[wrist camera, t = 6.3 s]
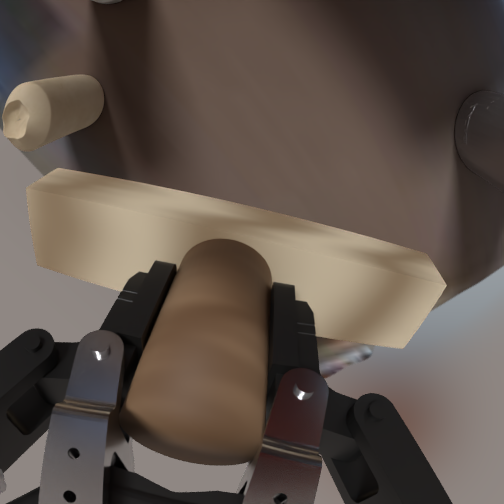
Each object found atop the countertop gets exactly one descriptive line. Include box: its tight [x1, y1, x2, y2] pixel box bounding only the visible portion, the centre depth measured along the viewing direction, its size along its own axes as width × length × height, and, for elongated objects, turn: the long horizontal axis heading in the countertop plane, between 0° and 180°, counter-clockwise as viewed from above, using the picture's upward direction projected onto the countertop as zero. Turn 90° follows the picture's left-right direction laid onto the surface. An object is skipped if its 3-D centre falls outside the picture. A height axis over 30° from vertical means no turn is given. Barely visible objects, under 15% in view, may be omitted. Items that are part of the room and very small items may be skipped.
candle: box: [2, 75, 104, 152], centre depth 20 cm, size 6×6×10 cm
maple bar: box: [26, 168, 447, 465], centre depth 10 cm, size 18×4×9 cm, turn 77°
